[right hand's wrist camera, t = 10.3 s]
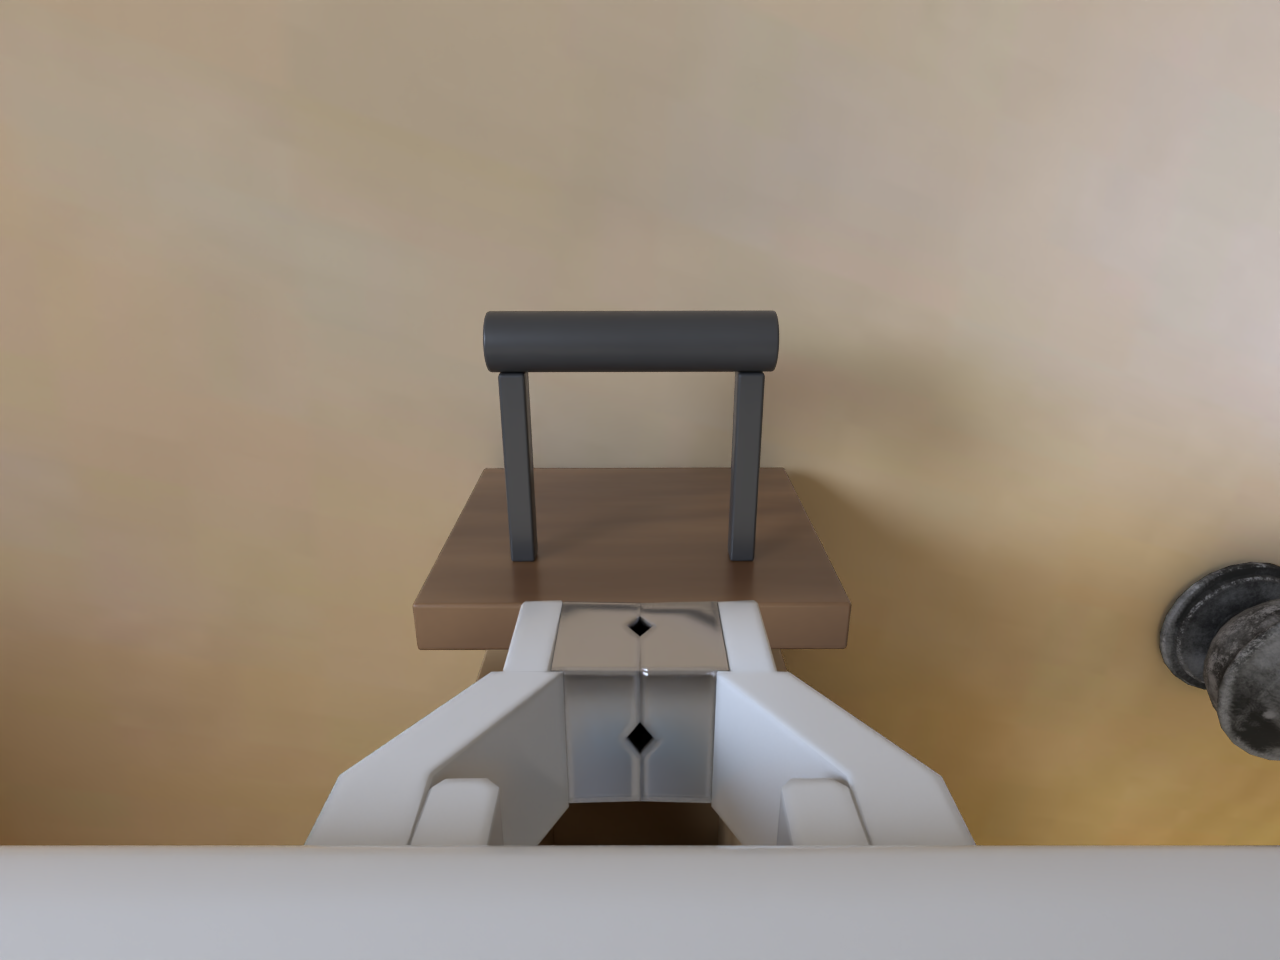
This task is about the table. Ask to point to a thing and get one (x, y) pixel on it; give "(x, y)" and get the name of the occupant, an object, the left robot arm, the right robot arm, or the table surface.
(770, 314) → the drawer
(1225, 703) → the stone chess piece
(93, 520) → the table surface
